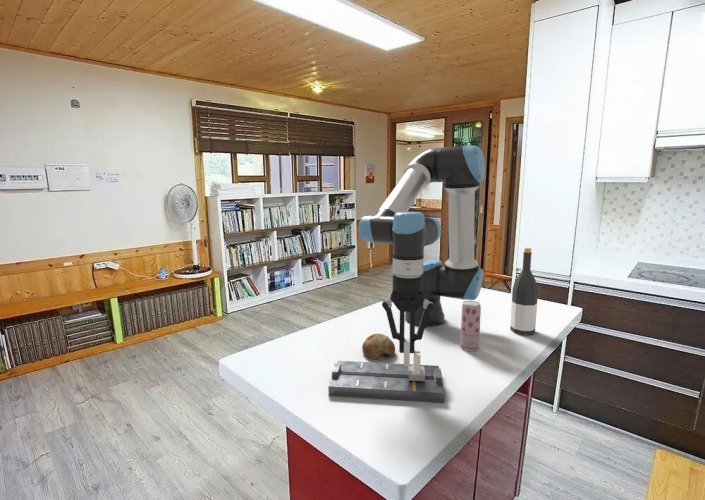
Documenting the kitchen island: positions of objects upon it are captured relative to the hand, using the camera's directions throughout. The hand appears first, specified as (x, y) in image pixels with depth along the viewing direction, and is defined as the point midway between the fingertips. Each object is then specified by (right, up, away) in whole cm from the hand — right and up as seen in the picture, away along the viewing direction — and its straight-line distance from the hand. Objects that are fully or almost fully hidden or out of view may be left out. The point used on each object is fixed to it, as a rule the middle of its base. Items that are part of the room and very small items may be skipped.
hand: (406, 364), depth 96 cm
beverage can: (+24, -2, +23) cm, 33 cm away
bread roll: (-6, -3, +21) cm, 22 cm away
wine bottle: (+47, 0, +37) cm, 60 cm away
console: (-5, -6, +2) cm, 8 cm away
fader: (+3, -3, 0) cm, 4 cm away
